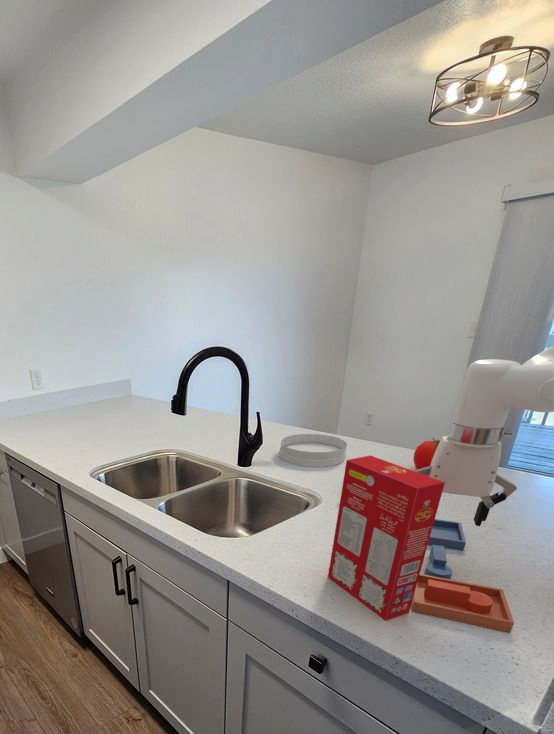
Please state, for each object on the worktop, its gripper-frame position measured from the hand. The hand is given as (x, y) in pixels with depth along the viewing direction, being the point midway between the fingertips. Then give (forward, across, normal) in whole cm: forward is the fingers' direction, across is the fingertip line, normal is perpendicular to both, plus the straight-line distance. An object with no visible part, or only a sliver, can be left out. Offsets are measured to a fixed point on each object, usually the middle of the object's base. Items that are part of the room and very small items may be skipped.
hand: (447, 518), depth 85 cm
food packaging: (+11, +12, +16) cm, 23 cm away
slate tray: (+11, +1, -14) cm, 17 cm away
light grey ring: (+11, +34, -63) cm, 72 cm away
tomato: (+11, -2, -58) cm, 59 cm away
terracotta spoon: (+10, -3, +13) cm, 17 cm away
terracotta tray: (+11, -3, +13) cm, 17 cm away
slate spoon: (+11, 0, +2) cm, 11 cm away
